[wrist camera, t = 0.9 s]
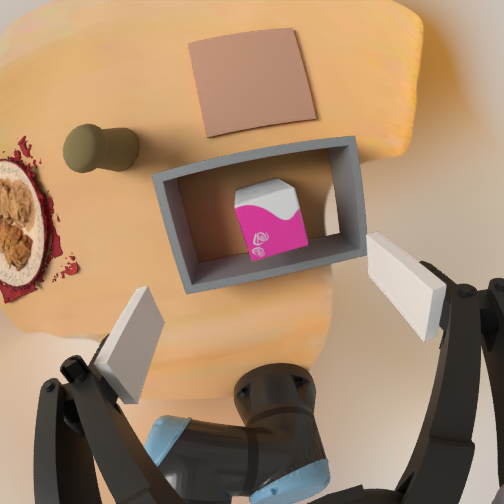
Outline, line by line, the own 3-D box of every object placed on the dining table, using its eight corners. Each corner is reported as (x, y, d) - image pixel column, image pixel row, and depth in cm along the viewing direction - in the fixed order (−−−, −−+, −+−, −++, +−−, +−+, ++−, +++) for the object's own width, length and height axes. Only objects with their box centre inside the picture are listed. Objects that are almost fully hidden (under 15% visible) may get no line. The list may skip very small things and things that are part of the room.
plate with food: (10, 299, 38) (1, 307, 35) (-32, 185, 29) (-43, 188, 25) (83, 267, 37) (73, 277, 34) (34, 120, 28) (21, 119, 25)
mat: (314, 119, 31) (316, 118, 31) (207, 137, 32) (207, 137, 31) (291, 29, 27) (292, 27, 26) (188, 45, 27) (187, 43, 26)
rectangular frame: (346, 238, 37) (368, 254, 30) (194, 271, 37) (186, 294, 31) (333, 139, 32) (354, 135, 26) (167, 171, 33) (151, 174, 26)
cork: (126, 118, 30) (86, 106, 19) (147, 154, 32) (111, 153, 21) (93, 145, 30) (47, 145, 20) (113, 180, 32) (70, 190, 22)
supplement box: (233, 190, 34) (233, 203, 23) (278, 176, 34) (298, 184, 23) (246, 231, 36) (252, 263, 25) (289, 219, 36) (313, 245, 25)
